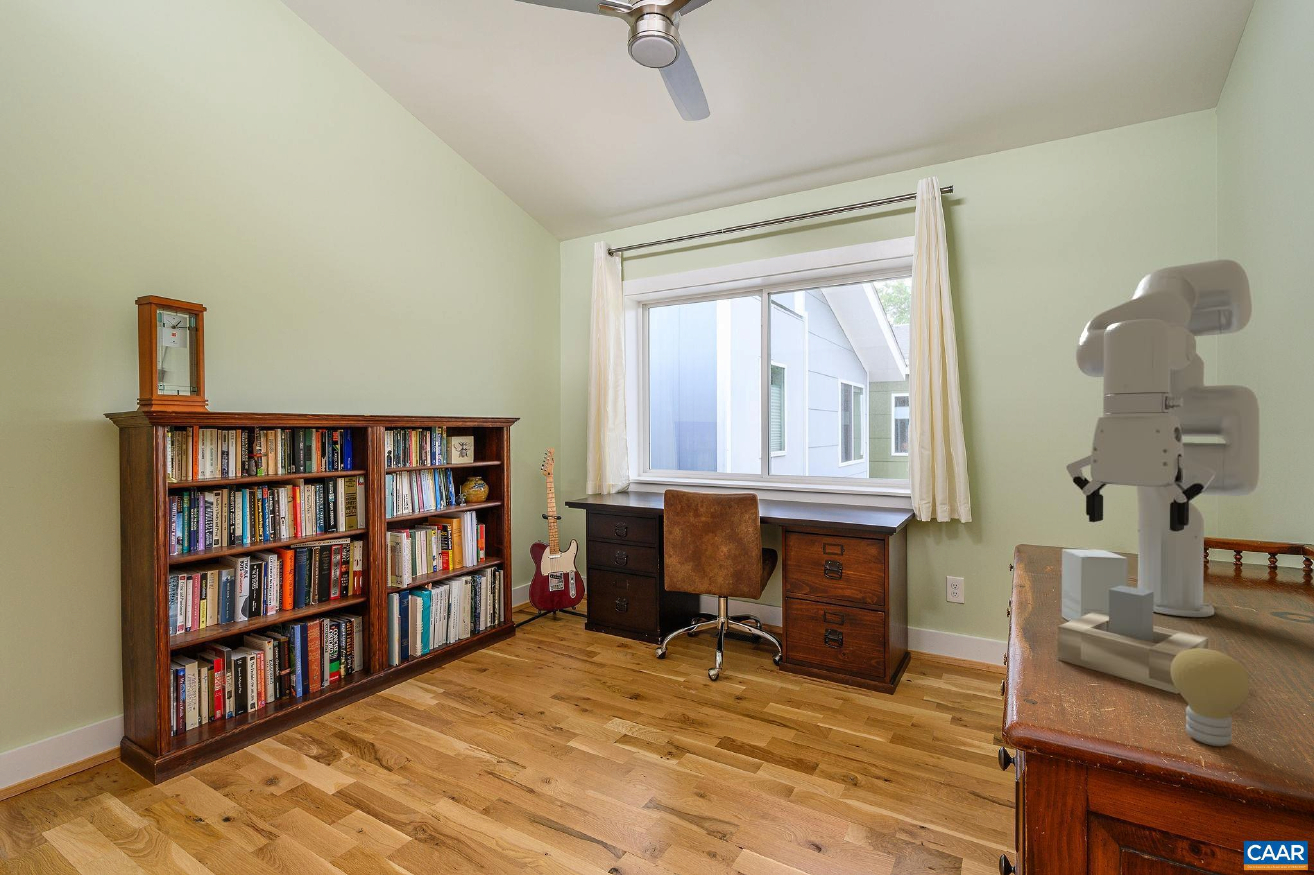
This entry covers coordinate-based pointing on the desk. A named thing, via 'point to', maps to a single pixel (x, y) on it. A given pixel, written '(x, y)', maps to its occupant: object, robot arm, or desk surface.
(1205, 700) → the light bulb
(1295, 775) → the desk surface
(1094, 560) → the supplement box
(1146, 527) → the robot arm
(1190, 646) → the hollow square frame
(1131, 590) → the grey rectangular prism
